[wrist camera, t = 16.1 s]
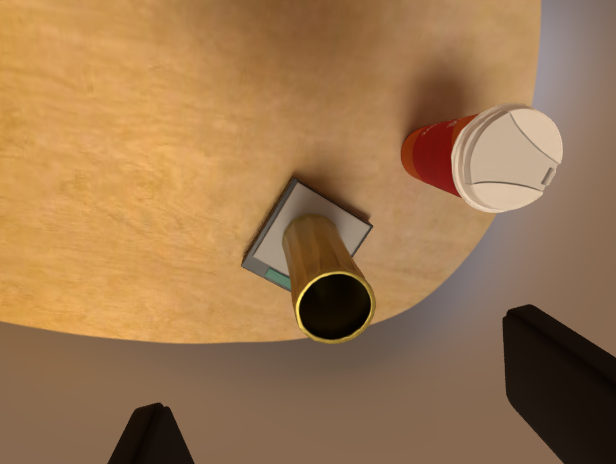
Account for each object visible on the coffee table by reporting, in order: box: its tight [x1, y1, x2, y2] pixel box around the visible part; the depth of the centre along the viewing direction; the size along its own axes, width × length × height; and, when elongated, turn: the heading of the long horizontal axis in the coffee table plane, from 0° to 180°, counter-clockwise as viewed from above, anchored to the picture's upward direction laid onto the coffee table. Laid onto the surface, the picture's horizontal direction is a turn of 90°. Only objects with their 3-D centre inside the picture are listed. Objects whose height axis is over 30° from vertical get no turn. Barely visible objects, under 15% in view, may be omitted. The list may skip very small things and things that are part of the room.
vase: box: [282, 214, 376, 344], centre depth 27 cm, size 6×6×14 cm
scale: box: [241, 176, 373, 292], centre depth 36 cm, size 10×11×3 cm
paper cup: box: [401, 103, 563, 213], centre depth 29 cm, size 8×8×14 cm
